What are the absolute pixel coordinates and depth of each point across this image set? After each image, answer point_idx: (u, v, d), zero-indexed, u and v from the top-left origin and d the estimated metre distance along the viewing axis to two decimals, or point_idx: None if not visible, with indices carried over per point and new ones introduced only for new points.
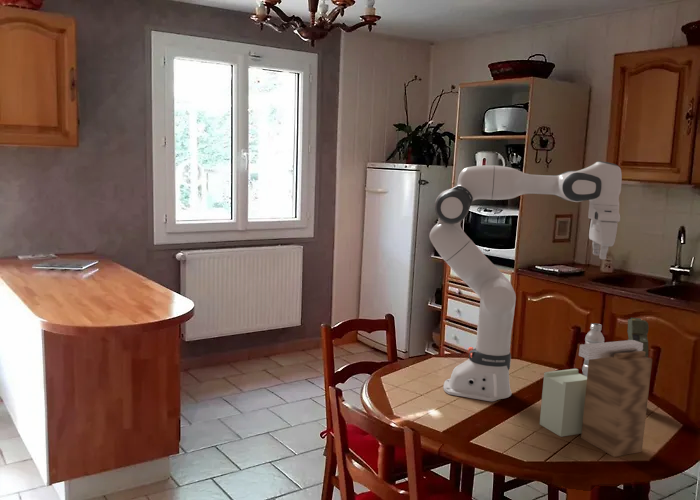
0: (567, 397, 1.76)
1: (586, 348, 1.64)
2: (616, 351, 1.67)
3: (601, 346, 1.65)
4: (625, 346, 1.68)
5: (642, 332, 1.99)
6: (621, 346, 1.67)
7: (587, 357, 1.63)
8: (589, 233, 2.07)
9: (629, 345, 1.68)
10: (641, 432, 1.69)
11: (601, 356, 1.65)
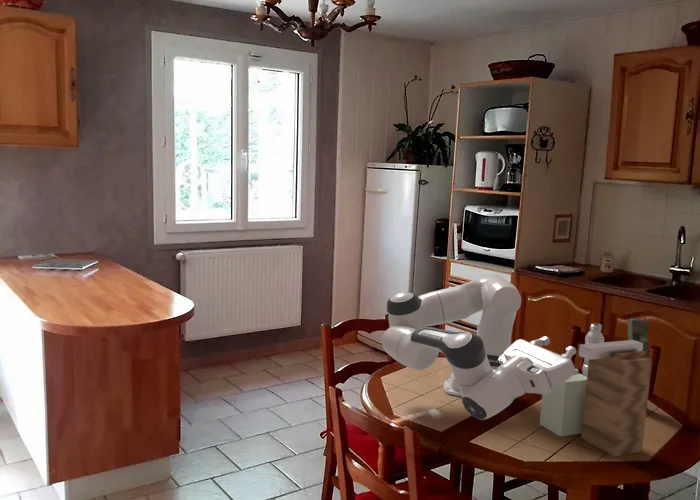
0: (567, 397, 1.76)
1: (586, 348, 1.64)
2: (616, 351, 1.67)
3: (601, 346, 1.65)
4: (625, 346, 1.68)
5: (642, 332, 1.99)
6: (621, 346, 1.67)
7: (587, 357, 1.63)
8: None
9: (629, 345, 1.68)
10: (641, 432, 1.69)
11: (601, 356, 1.65)
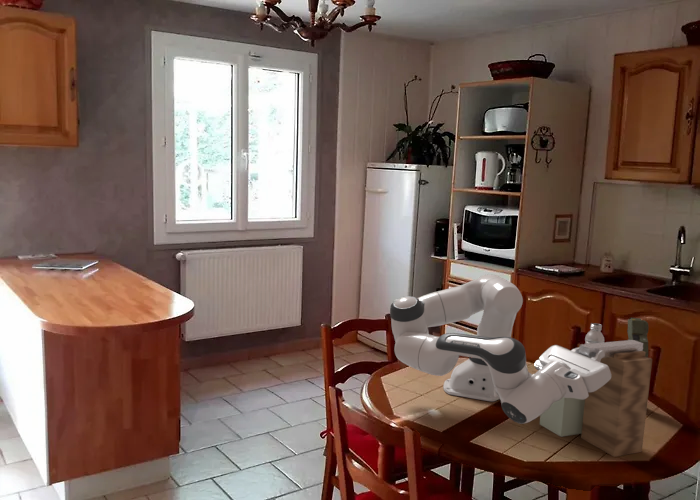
0: None
1: (586, 348, 1.64)
2: (616, 351, 1.67)
3: (601, 346, 1.65)
4: (625, 346, 1.68)
5: (642, 332, 1.99)
6: (621, 346, 1.67)
7: None
8: None
9: (629, 345, 1.68)
10: (641, 432, 1.69)
11: None
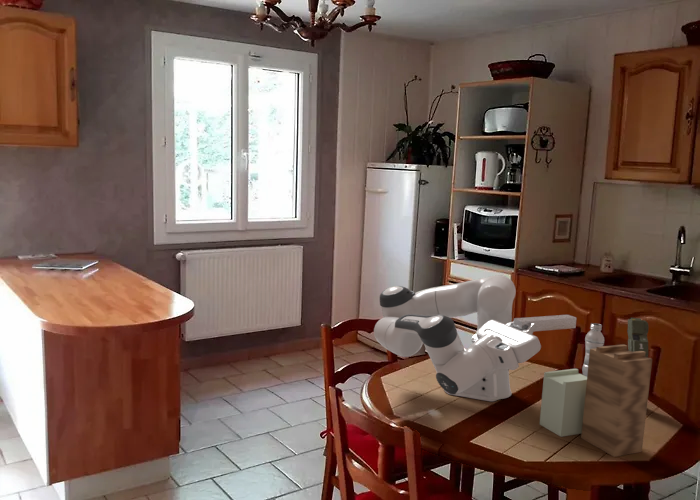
0: (567, 397, 1.76)
1: (519, 322, 1.69)
2: (549, 325, 1.72)
3: (534, 320, 1.70)
4: (558, 320, 1.73)
5: (642, 332, 1.99)
6: (554, 320, 1.72)
7: None
8: None
9: (562, 319, 1.74)
10: (641, 432, 1.69)
11: None
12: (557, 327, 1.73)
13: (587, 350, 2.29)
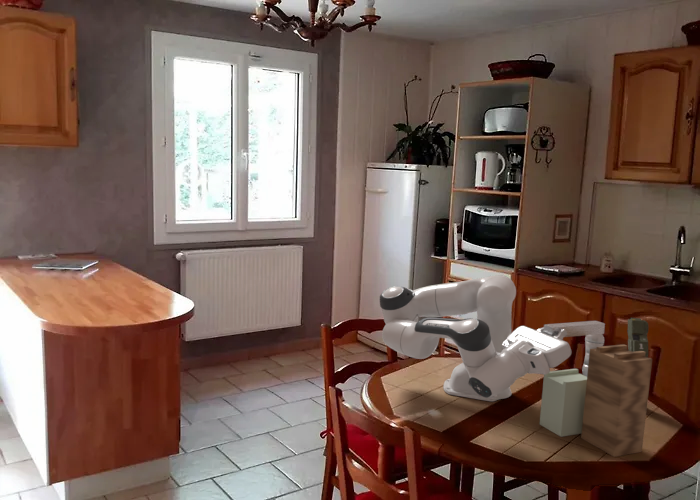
0: (567, 397, 1.76)
1: (550, 328, 1.74)
2: (578, 330, 1.77)
3: (564, 326, 1.76)
4: (587, 326, 1.78)
5: (642, 332, 1.99)
6: (583, 326, 1.78)
7: None
8: None
9: (591, 325, 1.79)
10: (641, 432, 1.69)
11: None
12: (586, 333, 1.78)
13: (587, 350, 2.29)
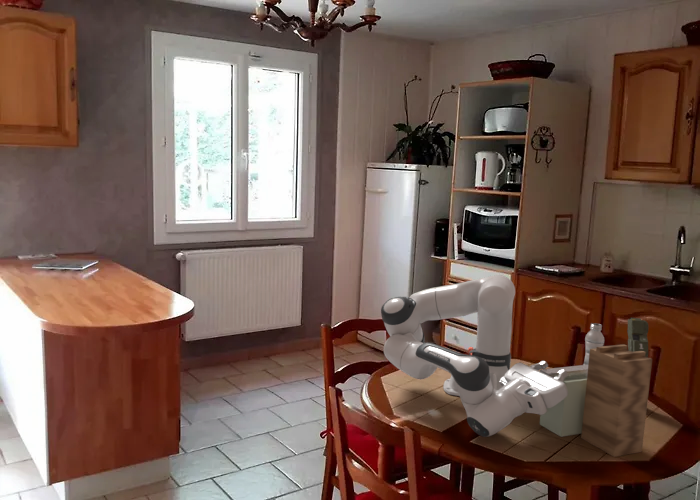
0: (567, 397, 1.76)
1: (546, 373, 1.77)
2: (574, 375, 1.80)
3: None
4: (582, 371, 1.81)
5: (642, 332, 1.99)
6: (579, 371, 1.80)
7: None
8: None
9: (586, 370, 1.81)
10: (641, 432, 1.69)
11: None
12: (581, 377, 1.81)
13: (587, 350, 2.29)
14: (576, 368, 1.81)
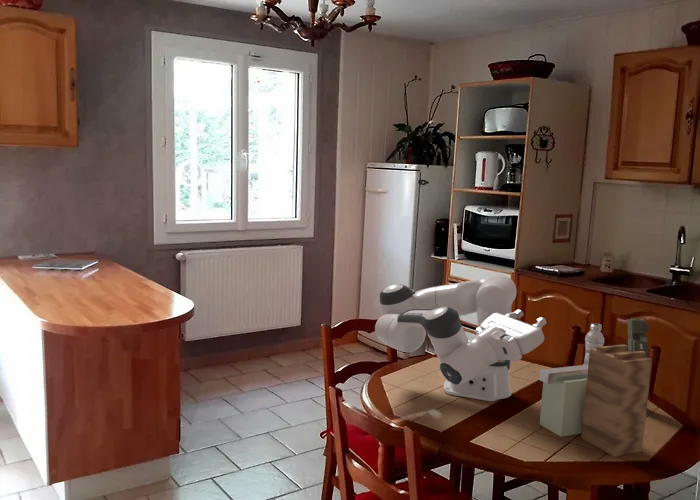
0: (567, 397, 1.76)
1: (546, 373, 1.77)
2: (574, 375, 1.80)
3: (560, 371, 1.78)
4: (582, 371, 1.81)
5: (642, 332, 1.99)
6: (579, 371, 1.80)
7: (546, 381, 1.76)
8: None
9: (586, 370, 1.81)
10: (641, 432, 1.69)
11: (560, 380, 1.78)
12: (581, 377, 1.81)
13: (587, 350, 2.29)
14: (576, 368, 1.81)
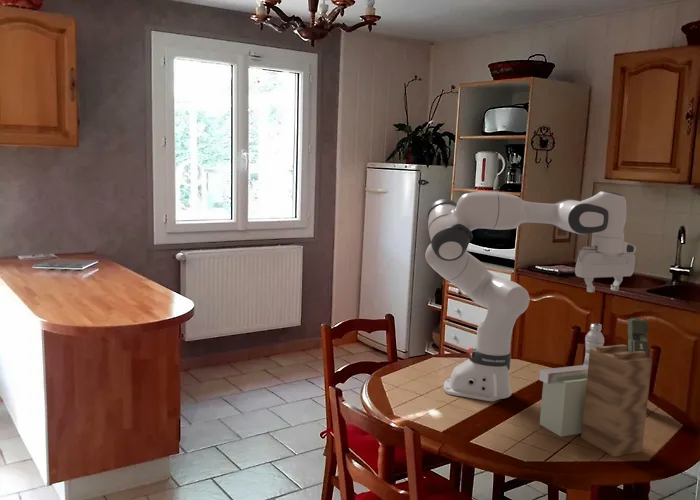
0: (567, 397, 1.76)
1: (546, 373, 1.77)
2: (574, 375, 1.80)
3: (560, 371, 1.78)
4: (582, 371, 1.81)
5: (642, 332, 1.99)
6: (579, 371, 1.80)
7: (546, 381, 1.76)
8: (586, 271, 1.83)
9: (586, 370, 1.81)
10: (641, 432, 1.69)
11: (560, 380, 1.78)
12: (581, 377, 1.81)
13: (587, 350, 2.29)
14: (576, 368, 1.81)
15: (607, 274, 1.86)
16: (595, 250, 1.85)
